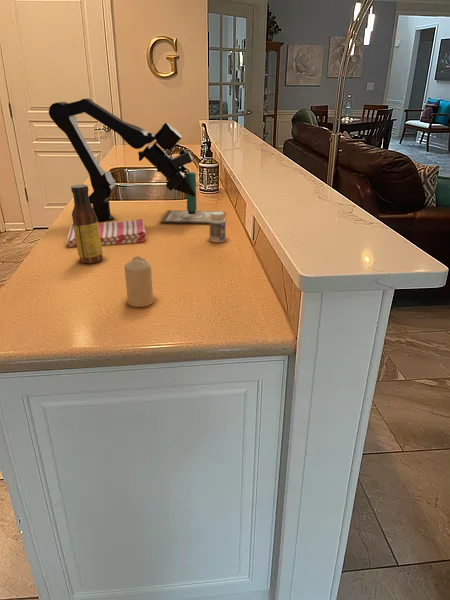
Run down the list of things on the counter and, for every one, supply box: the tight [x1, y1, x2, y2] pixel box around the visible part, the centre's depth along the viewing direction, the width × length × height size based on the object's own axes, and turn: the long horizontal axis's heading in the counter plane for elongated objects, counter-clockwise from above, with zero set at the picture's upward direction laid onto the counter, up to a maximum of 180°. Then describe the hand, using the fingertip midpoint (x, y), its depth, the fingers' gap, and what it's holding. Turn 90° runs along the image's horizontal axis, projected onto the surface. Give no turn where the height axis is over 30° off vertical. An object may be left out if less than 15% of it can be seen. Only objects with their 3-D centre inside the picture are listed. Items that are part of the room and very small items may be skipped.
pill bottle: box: [209, 210, 227, 243], centre depth 140 cm, size 5×5×8 cm
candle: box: [124, 256, 154, 308], centre depth 101 cm, size 6×6×10 cm
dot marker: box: [186, 171, 198, 214], centre depth 159 cm, size 3×3×14 cm
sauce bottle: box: [70, 183, 103, 264], centre depth 122 cm, size 6×6×20 cm
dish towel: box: [65, 218, 148, 248], centre depth 145 cm, size 17×23×4 cm
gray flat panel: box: [160, 209, 224, 225], centre depth 164 cm, size 20×15×1 cm
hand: (195, 194), depth 159 cm, fingers closed on dot marker, 3 cm apart
